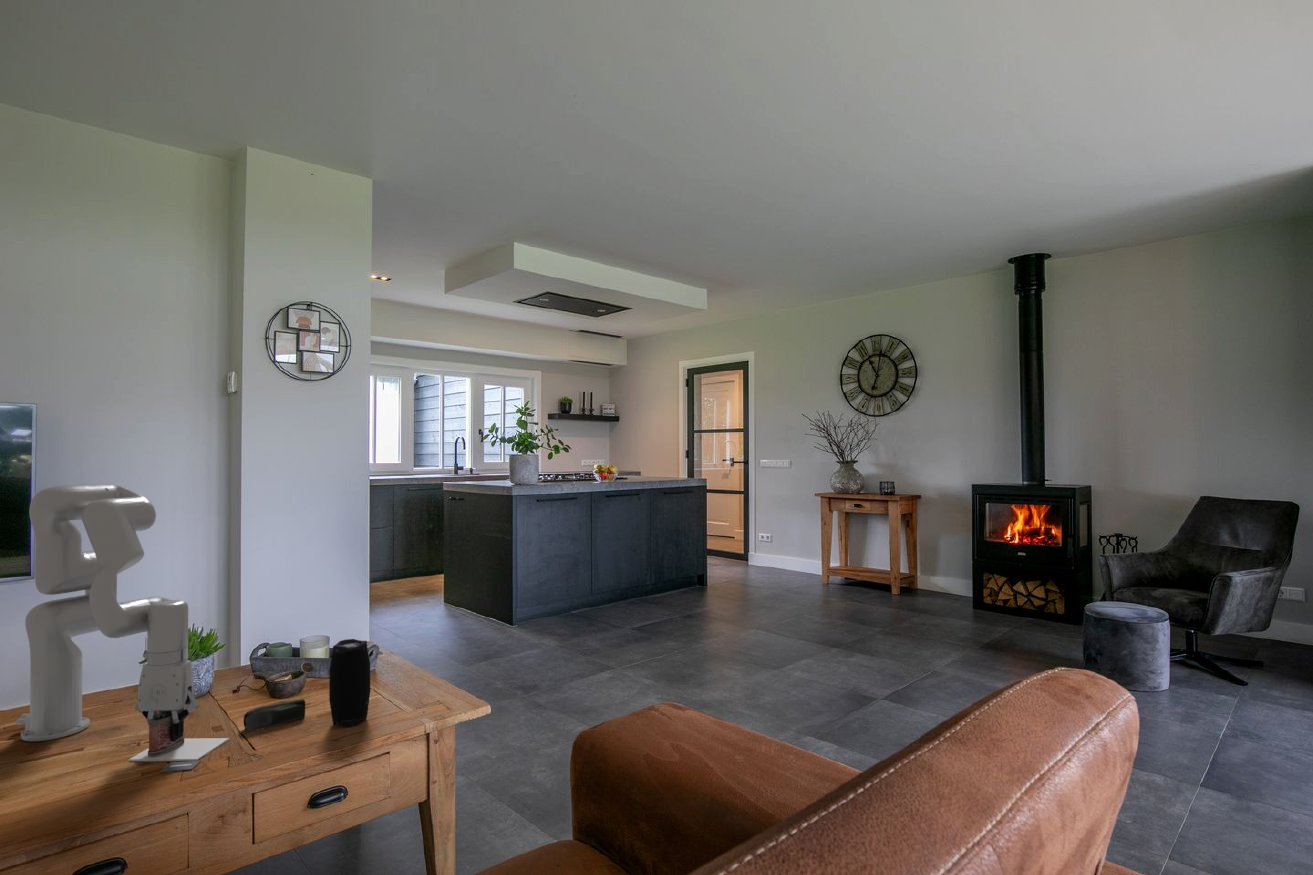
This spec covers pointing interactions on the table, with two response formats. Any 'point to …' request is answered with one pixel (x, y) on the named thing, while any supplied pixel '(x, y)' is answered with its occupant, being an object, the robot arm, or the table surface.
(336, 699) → the portable speaker
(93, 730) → the table surface
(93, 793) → the table surface
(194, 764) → the plate
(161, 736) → the lighter
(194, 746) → the paper
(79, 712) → the robot arm
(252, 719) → the dark elongated piece
